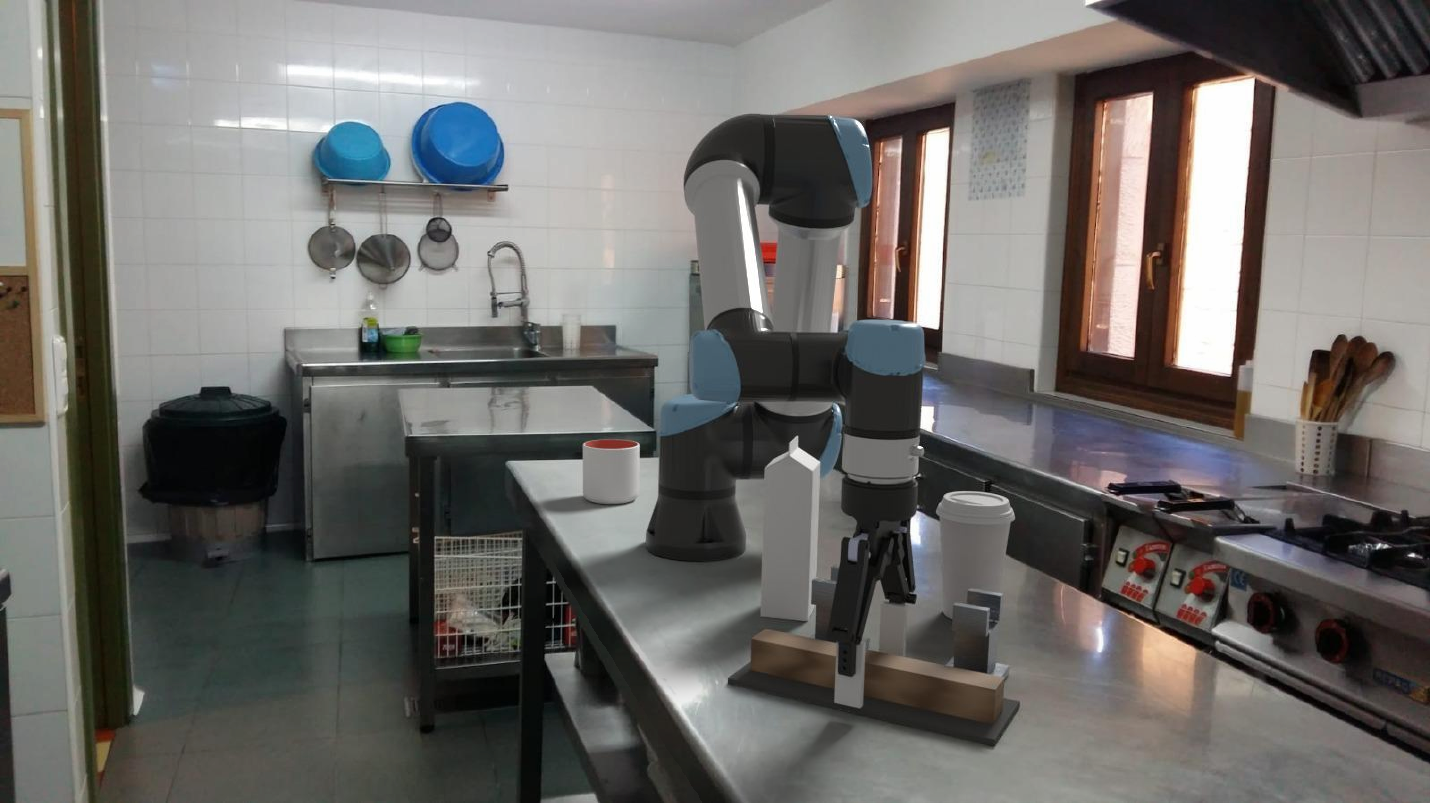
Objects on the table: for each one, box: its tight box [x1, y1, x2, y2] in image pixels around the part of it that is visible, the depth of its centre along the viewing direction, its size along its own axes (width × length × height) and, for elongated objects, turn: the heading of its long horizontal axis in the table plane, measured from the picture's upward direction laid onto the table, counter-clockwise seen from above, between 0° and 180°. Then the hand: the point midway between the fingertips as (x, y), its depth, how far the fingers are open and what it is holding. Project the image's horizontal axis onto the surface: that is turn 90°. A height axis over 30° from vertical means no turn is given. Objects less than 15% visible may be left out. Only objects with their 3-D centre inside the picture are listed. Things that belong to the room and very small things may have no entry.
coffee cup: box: [935, 490, 1016, 622], centre depth 137 cm, size 10×10×15 cm
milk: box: [760, 436, 821, 622], centre depth 136 cm, size 6×6×22 cm
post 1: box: [809, 564, 871, 650], centre depth 125 cm, size 6×7×9 cm
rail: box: [750, 628, 1006, 725], centre depth 112 cm, size 26×4×4 cm, turn 62°
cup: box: [582, 438, 641, 505], centre depth 194 cm, size 10×10×10 cm
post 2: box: [945, 588, 1010, 681], centre depth 117 cm, size 6×7×9 cm
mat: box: [727, 661, 1021, 747], centre depth 113 cm, size 28×10×1 cm, turn 62°
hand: (871, 682), depth 113 cm, fingers open, 12 cm apart
